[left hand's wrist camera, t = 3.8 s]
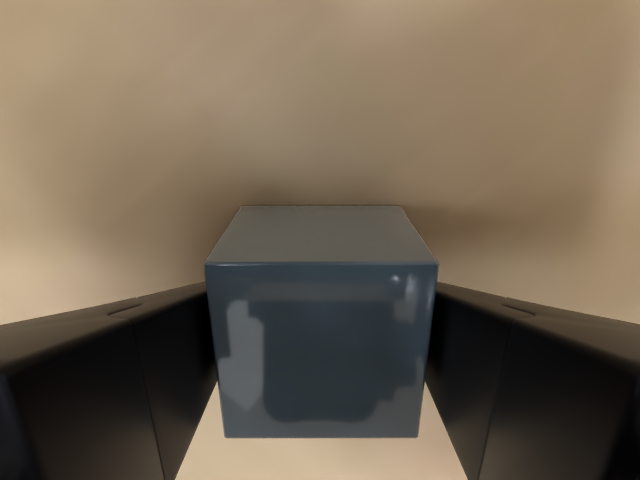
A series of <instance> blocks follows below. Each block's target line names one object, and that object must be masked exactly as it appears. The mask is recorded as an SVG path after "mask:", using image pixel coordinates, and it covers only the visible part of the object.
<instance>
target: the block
mask: <svg viewBox="0 0 640 480" xmlns="http://www.w3.org/2000/svg"><path fill="white" fill-rule="evenodd" d="M203 266H204V274H205V282H206V291H207V299H208V307H209V315H210V323H211V331H212V340H213V348H214V356H215V364H216V372H217V381H218V389H219V397H220V405H221V413H222V421H223V430H224V436H225V438H417V437H418V432H419V424H420V415H421V407H422V399H423V391H424V383H425V375H426V367H427V359H428V350H429V342H430V334H431V326H432V318H433V310H434V302H435V293H436V285H437V277H438V269H439V262H438V261H437V259H436V258H435V256H434V255H433V253H432V252H431V250H430V249H429V247H428V246H427V244H426V243H425V241H424V240H423V239H422V237H421V236H420V234H419V233H418V231H417V230H416V228H415V227H414V225H413V224H412V222H411V221H410V219H409V218H408V216H407V215H406V213H405V212H404V211H403V209H402V208H401V206H241V207H240V209H239V210H238V212H237V213H236V215H235V216H234V218H233V219H232V221H231V222H230V224H229V225H228V227H227V228H226V230H225V231H224V233H223V234H222V236H221V237H220V239H219V240H218V242H217V243H216V245H215V246H214V248H213V249H212V251H211V252H210V254H209V255H208V257H207V258H206V260H205V261H204V264H203Z"/></svg>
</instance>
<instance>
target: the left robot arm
mask: <svg viewBox="0 0 640 480" xmlns="http://www.w3.org/2000/svg"><path fill="white" fill-rule="evenodd" d="M216 382H217V372H216V364H215V356H214V348H213V340H212V331H211V323H210V315H209V307H208V299H207V291H206V282H201V283H197V284H193V285H189V286H184V287H180V288H176V289H172V290H167V291H163V292H159V293H154V294H150V295H146V296H142V297H138V298H131V299H126V300H122V301H117V302H113V303H108V304H104V305H99V306H94V307H90V308H85V309H80V310H75V311H70V312H65V313H60V314H54V315H49V316H44V317H39V318H34V319H29V320H24V321H19V322H14V323H9V324H4V325H0V480H175V478H176V475H177V473H178V471H179V469H180V466H181V464H182V462H183V459H184V457H185V455H186V452H187V450H188V448H189V445H190V443H191V441H192V438H193V436H194V434H195V431H196V429H197V427H198V424H199V422H200V420H201V417H202V415H203V413H204V410H205V408H206V406H207V403H208V401H209V399H210V396H211V394H212V392H213V389H214V387H215V385H216ZM425 382H426V384H427V387H428V389H429V391H430V394H431V396H432V398H433V400H434V403H435V405H436V407H437V410H438V412H439V414H440V417H441V419H442V421H443V423H444V426H445V428H446V430H447V433H448V435H449V437H450V439H451V442H452V444H453V446H454V449H455V451H456V453H457V456H458V458H459V460H460V462H461V465H462V467H463V469H464V472H465V474H466V476H467V479H468V480H640V324H634V323H629V322H624V321H619V320H614V319H609V318H604V317H599V316H594V315H589V314H584V313H579V312H574V311H569V310H563V309H558V308H553V307H549V306H544V305H539V304H534V303H530V302H525V301H521V300H516V299H512V298H505V297H501V296H497V295H492V294H488V293H484V292H479V291H475V290H471V289H467V288H462V287H458V286H454V285H449V284H445V283H441V282H437V285H436V293H435V302H434V310H433V318H432V326H431V334H430V342H429V350H428V359H427V367H426V375H425Z"/></svg>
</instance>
